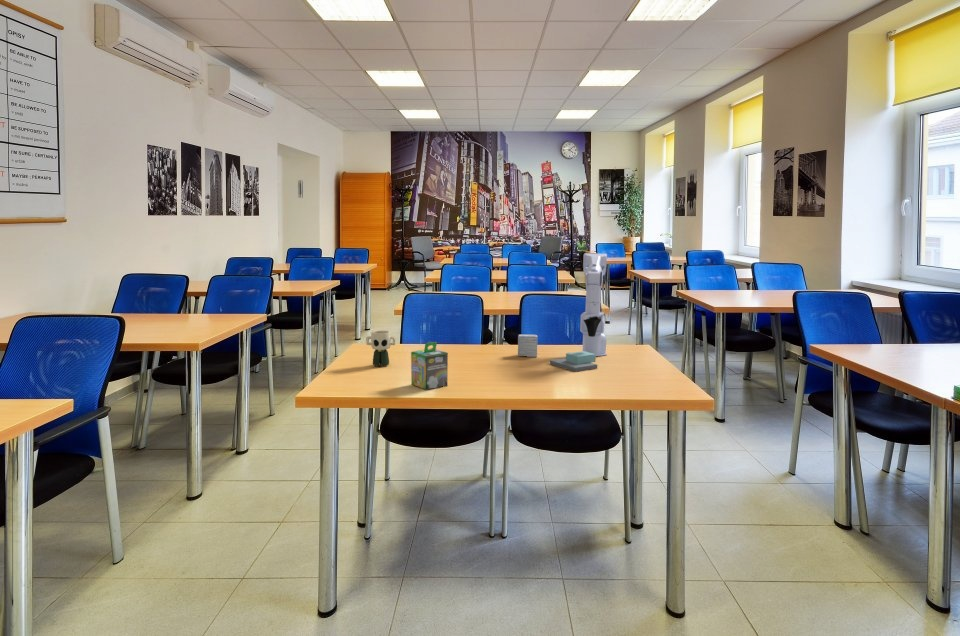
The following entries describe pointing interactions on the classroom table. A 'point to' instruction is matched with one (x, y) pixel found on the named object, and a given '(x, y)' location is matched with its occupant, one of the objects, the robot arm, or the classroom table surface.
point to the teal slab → (580, 357)
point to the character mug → (380, 346)
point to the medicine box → (527, 345)
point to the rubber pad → (572, 365)
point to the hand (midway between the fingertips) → (591, 336)
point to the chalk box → (429, 367)
